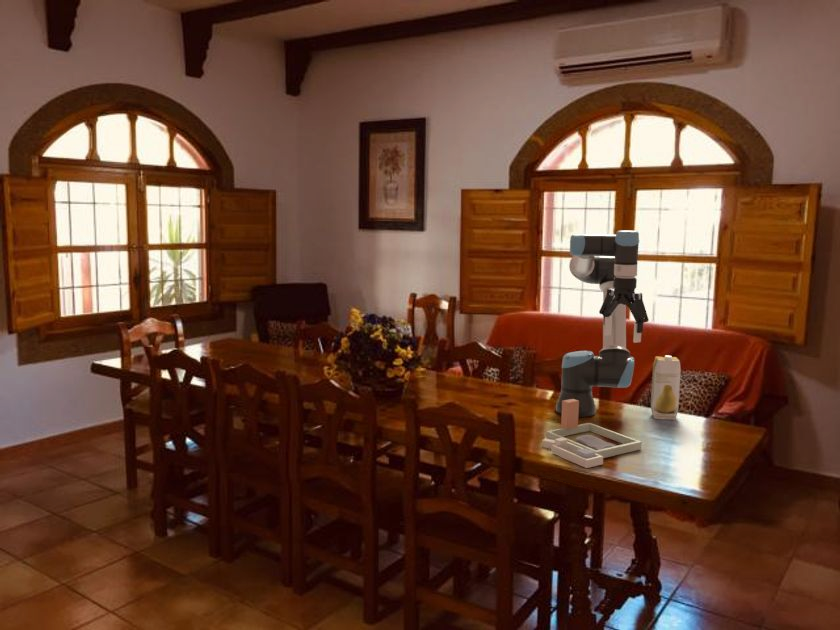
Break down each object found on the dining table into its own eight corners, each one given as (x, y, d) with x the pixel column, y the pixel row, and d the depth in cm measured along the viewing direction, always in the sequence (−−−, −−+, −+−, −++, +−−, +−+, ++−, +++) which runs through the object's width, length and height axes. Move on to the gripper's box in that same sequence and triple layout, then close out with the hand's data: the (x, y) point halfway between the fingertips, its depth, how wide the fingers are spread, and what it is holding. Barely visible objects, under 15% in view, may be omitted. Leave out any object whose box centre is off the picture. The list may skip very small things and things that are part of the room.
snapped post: (542, 447, 239) (542, 440, 238) (545, 445, 240) (545, 438, 240) (555, 450, 236) (555, 443, 235) (558, 448, 238) (558, 441, 237)
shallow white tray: (544, 437, 247) (545, 403, 245) (587, 428, 257) (589, 396, 255) (596, 459, 226) (597, 422, 224) (641, 449, 236) (643, 413, 234)
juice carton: (652, 419, 269) (656, 356, 266) (649, 413, 277) (652, 352, 273) (678, 420, 268) (682, 357, 264) (674, 414, 276) (678, 353, 272)
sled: (549, 451, 232) (550, 439, 232) (565, 448, 236) (566, 436, 235) (586, 468, 218) (586, 455, 218) (602, 464, 222) (603, 451, 221)
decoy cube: (576, 462, 224) (576, 450, 223) (585, 460, 226) (586, 448, 226) (585, 466, 221) (585, 454, 220) (594, 464, 223) (595, 451, 222)
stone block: (593, 448, 243) (571, 447, 238) (596, 434, 242) (574, 433, 237) (619, 460, 233) (596, 459, 228) (622, 446, 232) (599, 445, 227)
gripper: (590, 273, 252) (588, 333, 255) (645, 281, 230) (641, 346, 234) (606, 272, 255) (603, 331, 259) (662, 280, 234) (658, 344, 238)
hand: (621, 338), depth 246 cm, fingers open, 13 cm apart
